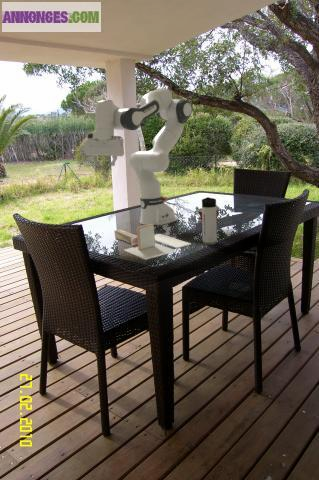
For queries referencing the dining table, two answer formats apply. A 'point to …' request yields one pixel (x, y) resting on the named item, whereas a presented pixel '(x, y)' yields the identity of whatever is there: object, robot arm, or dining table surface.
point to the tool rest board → (170, 241)
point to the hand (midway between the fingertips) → (104, 165)
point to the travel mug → (209, 221)
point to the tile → (145, 236)
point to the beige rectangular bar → (126, 237)
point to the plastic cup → (201, 212)
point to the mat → (150, 251)
